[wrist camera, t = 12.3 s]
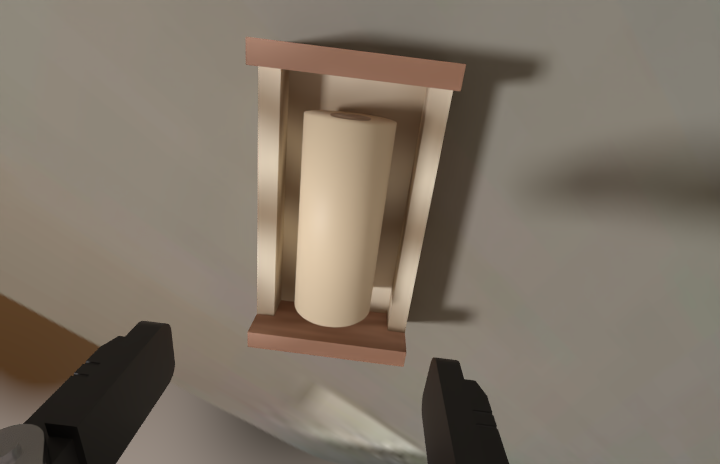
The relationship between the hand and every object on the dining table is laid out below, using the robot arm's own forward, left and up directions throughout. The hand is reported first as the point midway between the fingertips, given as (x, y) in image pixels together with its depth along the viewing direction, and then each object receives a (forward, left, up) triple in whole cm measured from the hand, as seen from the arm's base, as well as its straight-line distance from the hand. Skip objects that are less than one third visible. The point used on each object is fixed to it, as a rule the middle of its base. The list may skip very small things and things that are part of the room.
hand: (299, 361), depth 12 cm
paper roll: (0, 0, -12) cm, 12 cm away
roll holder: (0, 0, -15) cm, 15 cm away
